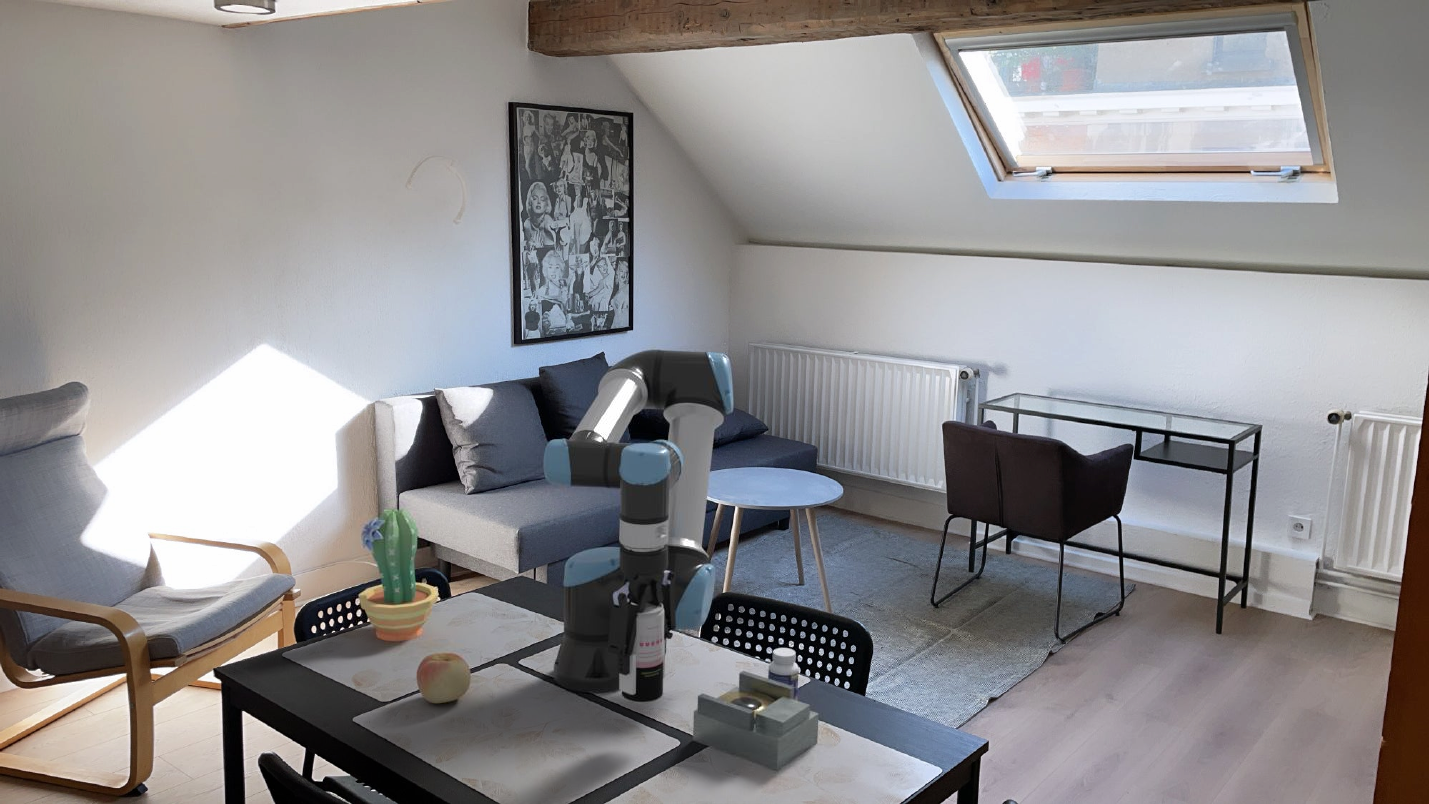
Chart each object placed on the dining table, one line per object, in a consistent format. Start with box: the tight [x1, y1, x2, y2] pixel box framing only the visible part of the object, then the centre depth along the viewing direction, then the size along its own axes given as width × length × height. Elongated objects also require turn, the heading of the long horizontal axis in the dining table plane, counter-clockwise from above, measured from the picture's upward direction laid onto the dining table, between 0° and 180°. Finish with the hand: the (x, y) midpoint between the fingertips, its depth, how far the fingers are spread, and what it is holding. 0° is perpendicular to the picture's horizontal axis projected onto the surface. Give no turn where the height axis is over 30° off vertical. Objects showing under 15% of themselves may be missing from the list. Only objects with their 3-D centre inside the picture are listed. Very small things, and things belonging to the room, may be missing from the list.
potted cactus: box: [358, 507, 440, 642], centre depth 217 cm, size 15×15×25 cm
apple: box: [416, 652, 472, 704], centre depth 188 cm, size 9×9×8 cm
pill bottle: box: [767, 647, 800, 701], centre depth 192 cm, size 5×5×9 cm
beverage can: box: [621, 602, 664, 705], centre depth 174 cm, size 6×6×15 cm
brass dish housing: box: [692, 670, 819, 772], centre depth 176 cm, size 16×13×8 cm
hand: (642, 683), depth 175 cm, fingers closed on beverage can, 6 cm apart
